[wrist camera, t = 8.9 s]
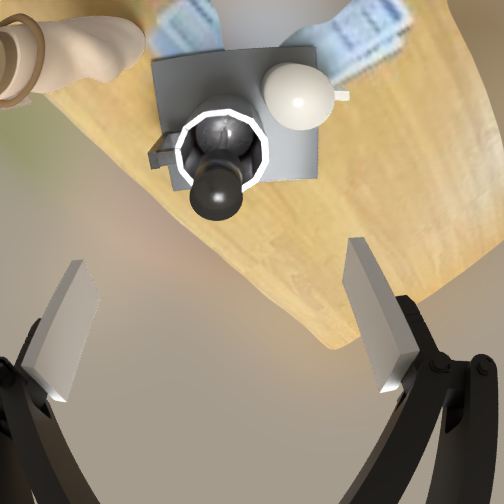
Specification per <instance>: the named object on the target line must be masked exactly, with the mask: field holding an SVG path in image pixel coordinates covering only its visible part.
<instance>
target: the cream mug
mask: <svg viewBox="0 0 504 504" xmlns="http://www.w3.org/2000/svg"><path fill="white" fill-rule="evenodd" d="M261 95H262V98H263V100H264V102H265V104H266V105H267V107H268V109H269V111H270V113H271V115H272V116H273V117H274V119H275V120H276V121H277V122H279V123H280V124H281V125H283V126H285V127H287V128H289V129H293V130H309V129H312V128H315V127H317V126H319V125H321V124H322V123H323V122H324V121H326V119H327V118H328V117H329V116H330V114H331V112H332V110H333V107H334V103H335V100H347V101H349V91H348V90H346V89H343V88H341V87H333V86H332V84H331V82H330V81H329V79H328V78H327V77H326V76H325V75H324V74H323V73H322V72H321V71H319V70H317V69H315V68H313V67H310V66H306V65H302V64H297V63H292V62H284V63H279V64H277V65H275V66H273V67H271V68H270V69H269V70H268V71H267V72H266V73H265V75H264V76H263V78H262V81H261Z"/></svg>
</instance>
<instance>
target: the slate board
mask: <svg viewBox="0 0 504 504" xmlns="http://www.w3.org/2000/svg"><path fill="white" fill-rule="evenodd" d="M284 62H292V63H297V64H302V65H306V66H310V67H313V68H315V69H317V56H316V47H272V48H271V47H270V48H253V49H252V48H251V49H239V50H228V51H218V52H210V53H202V54H195V55H189V56H182V57H177V58H171V59H166V60H161V61H156V62H151V66H152V73H153V80H154V87H155V93H156V100H157V106H158V112H159V118H160V124H161V130H162V134H163V133H164V132H166V131H172V132H175V131H182V129H183V127H184V125H185V124H186V122H187V121H188V119H189V118H190V116H191V115H192V113H193V112H194V110H195V109H196V107H197V106H199V105H200V104H201V103H203V102H204V101H205V100H207V99H208V98H210V97H211V96H213V95H222V94H234V95H236V96H239V97H241V98H243V99H246V100H248V101H249V102H250V103H251V105H252V106H253V107H254V109H255V110H256V111H257V113H258V114H259V116H260V118H261V121H262V124H263V127H264V130H265V133H266V136H267V143H268V160H269V162H268V164H267V166H266V168H265V170H264V171H263V173H262V175H261V177H260V179H259V181H258V182H271V181H285V180H301V179H318V126H317V127H315V128H312V129H309V130H293V129H289V128H287V127H285V126H283V125H281V124H280V123H279V122H277V121H276V120H275V119H274V117H273V116H272V115H271V113H270V111H269V109H268V107H267V105H266V104H265V102H264V100H263V98H262V95H261V81H262V78H263V76H264V75H265V73H266V72H267V71H268V70H269V69H270V68H271V67H273V66H275V65H277V64H279V63H284ZM175 146H176V145H173V147H172V148H175ZM168 167H169V172H170V177H171V182H172V187H173V191H180V190H188V189H191V187H192V186H191V185H190V184H189V183H188V181H187V180H186V179H185V178H184V177H183V176H182V175H181V173H180V172H179V171H178V166H177V164H173V165H168ZM258 182H257V183H258Z"/></svg>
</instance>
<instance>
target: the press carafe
mask: <svg viewBox="0 0 504 504" xmlns="http://www.w3.org/2000/svg"><path fill="white" fill-rule="evenodd" d="M222 115H230V116H232V117H235V118H237V119H239V120H242V121H244V122H246V123H249V124H250V126H251V127H252V128H253V140H252V142H251V145H250V146H249V148H248V149H247V150H246V151H245V152H244V153H243V154H242V155H240V156H239V157H238V158H239V160H240V163H241V168H242V192H243V191H244V190H246V189H247V188H249V187H251V186H252V185H254V184H255V183H257V182H258V181H259V179H260V177H261V175H262V173H263V171H264V170H265V168H266V166H267V164H268V162H269V160H268V143H267V136H266V133H265V130H264V127H263V124H262V121H261V118H260V116H259V114H258V113H257V111H256V110H255V109H254V107H253V106H252V105H251V103H250V102H249V101H248V100H246V99H243V98H241V97H239V96H236V95H234V94H222V95H213V96H211V97H210V98H208V99H207V100H205V101H204V102H203V103H201V104H200V105H199V106H197V107H196V109H195V110H194V112H193V113H192V115H191V116H190V118H189V119H188V121H187V122H186V124H185V125H184V127H183V129H182V131H175V132H172V131H166V132H164V133H163V134H162V136H161V137H160V138H159V139H158V140H157V142H156V143H155V144H154V145H153V147H152V148H151V149H150V151H149V152H148V157H149V162H150V166H151V169H157V168H160V167H161V166H166V165H173V164H177V166H178V171H179V172H180V173H181V175H182V176H183V177H184V178H185V179H186V180H187V181H188V183H189V184H190V185H191V186H192V184H193V181H194V177H195V174H196V171H197V167H198V164H199V161H200V159H201V158H202V156H203V155H204V154H205V152H204V151H203V150H202V149H201V148H200V146H199V145H198V142H197V139H196V128H197V124H198V123H199V122H200V121H202V120H203V119H204V118H206V117H213V116H222ZM173 145H176V146H175V148H172V147H173Z"/></svg>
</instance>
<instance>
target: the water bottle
mask: <svg viewBox="0 0 504 504" xmlns="http://www.w3.org/2000/svg"><path fill="white" fill-rule="evenodd" d="M16 21H19V22H22V23H24V24H19V25H10V26H7V25H8V24H10V23H13V22H16ZM144 50H145V36H144V33H143V31H142V30H141V29H140V28H139V27H138V26H136V25H135V24H134V23H133V22H131V21H129V20H127V19H124V18H119V17H112V16H100V15H98V16H84V17H74V18H68V19H64V20H61V21H58V22H52V21H49V22H36V21H35V20H33V19H32V18H31V17H29V16H27V15H25V14H15V15H12V16H10V17H8V18H6V19H4V20H3V21H1V22H0V111H3V110H7V109H11V108H15V107H20V106H24V105H29V104H32V102H31V100H30V98H29V95H28V94H29V93H30V92H36V93H51V92H55V91H57V90H60V89H63V88H65V87H67V86H69V85H71V84H73V83H74V82H76V81H78V80H80V79H82V78H92V79H94V80H96V81H99V82H110V81H112V80H114V79H115V78H117V77H118V76H119V74H120V73H121V72H122V71H125V70H128V69H130V68H131V67H133V66H134V65H135V64H137V62H138V61H139V60H140V59H141V57H142V55H143V53H144Z"/></svg>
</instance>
